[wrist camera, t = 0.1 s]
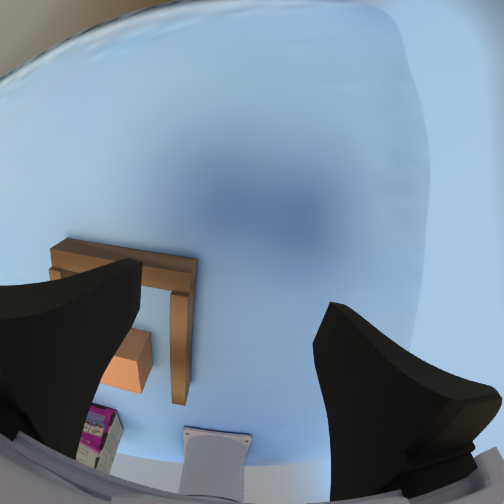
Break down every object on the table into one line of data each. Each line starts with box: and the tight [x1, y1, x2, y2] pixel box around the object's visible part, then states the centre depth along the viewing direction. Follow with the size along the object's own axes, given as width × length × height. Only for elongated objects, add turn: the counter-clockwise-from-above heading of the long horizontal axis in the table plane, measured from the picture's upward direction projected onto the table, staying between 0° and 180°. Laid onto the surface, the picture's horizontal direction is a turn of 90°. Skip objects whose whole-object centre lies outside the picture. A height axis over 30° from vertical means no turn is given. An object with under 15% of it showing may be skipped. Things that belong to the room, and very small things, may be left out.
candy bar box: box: [75, 403, 123, 474], centre depth 20 cm, size 11×5×16 cm, turn 85°
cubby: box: [49, 238, 198, 406], centre depth 21 cm, size 13×11×3 cm
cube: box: [100, 328, 153, 394], centre depth 22 cm, size 4×4×4 cm
